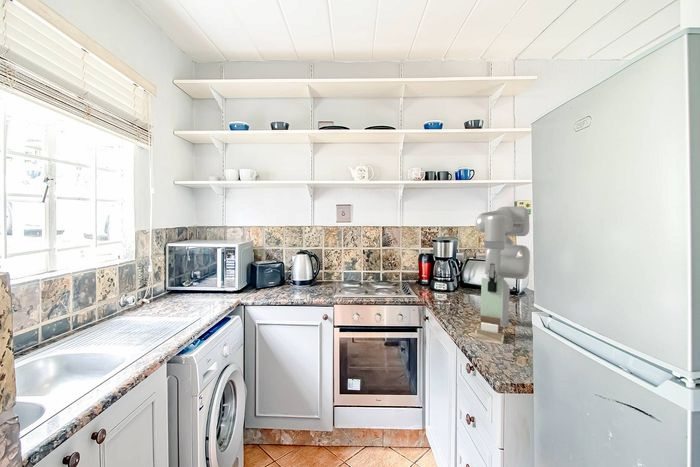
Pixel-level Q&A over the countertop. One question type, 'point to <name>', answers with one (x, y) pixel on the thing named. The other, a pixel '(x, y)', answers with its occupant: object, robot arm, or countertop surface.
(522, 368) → the countertop surface
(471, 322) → the shard
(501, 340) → the rack
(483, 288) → the green panel
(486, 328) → the white offcut
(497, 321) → the walnut offcut
